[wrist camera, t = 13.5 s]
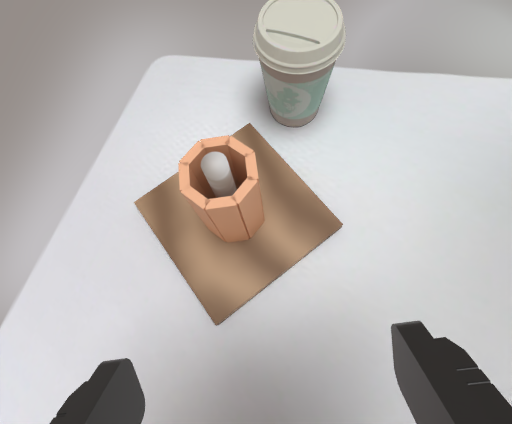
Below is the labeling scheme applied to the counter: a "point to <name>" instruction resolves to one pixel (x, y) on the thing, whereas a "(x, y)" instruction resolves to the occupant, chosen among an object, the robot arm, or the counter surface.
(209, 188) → the collar
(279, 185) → the post
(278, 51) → the coffee cup
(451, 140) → the counter surface
